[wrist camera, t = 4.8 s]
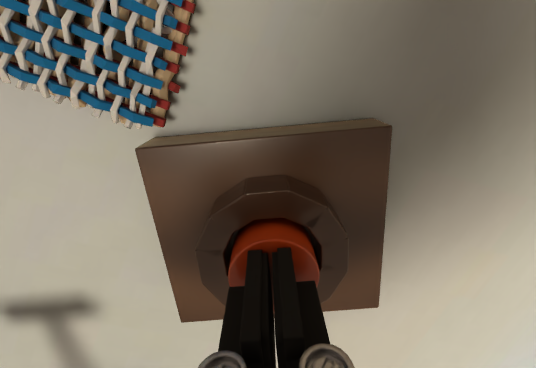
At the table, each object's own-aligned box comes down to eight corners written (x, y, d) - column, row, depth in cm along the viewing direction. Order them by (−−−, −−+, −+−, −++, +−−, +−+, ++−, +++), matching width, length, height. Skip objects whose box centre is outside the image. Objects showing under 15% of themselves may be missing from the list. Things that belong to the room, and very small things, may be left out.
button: (227, 217, 12) (221, 243, 10) (310, 210, 12) (319, 235, 10) (238, 283, 14) (234, 317, 12) (312, 277, 13) (320, 310, 12)
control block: (153, 137, 14) (112, 160, 10) (374, 117, 14) (414, 133, 10) (190, 294, 18) (171, 353, 14) (365, 280, 17) (393, 336, 14)
